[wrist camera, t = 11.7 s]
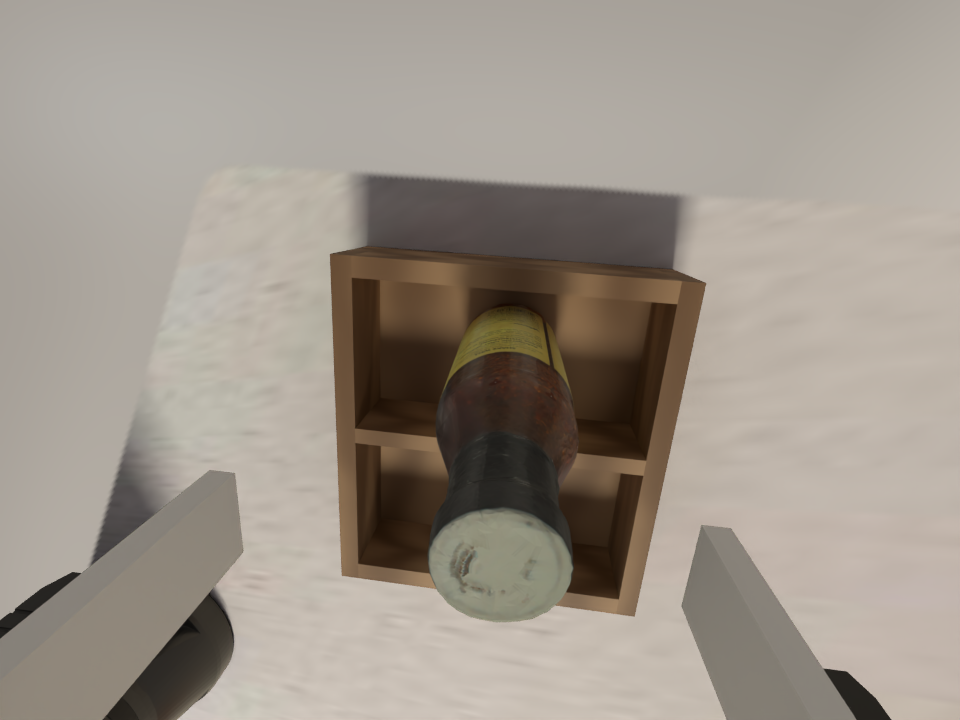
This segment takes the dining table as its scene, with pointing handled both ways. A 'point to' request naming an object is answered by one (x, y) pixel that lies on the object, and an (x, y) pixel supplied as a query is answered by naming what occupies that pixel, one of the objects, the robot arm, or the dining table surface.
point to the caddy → (425, 369)
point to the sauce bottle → (504, 470)
